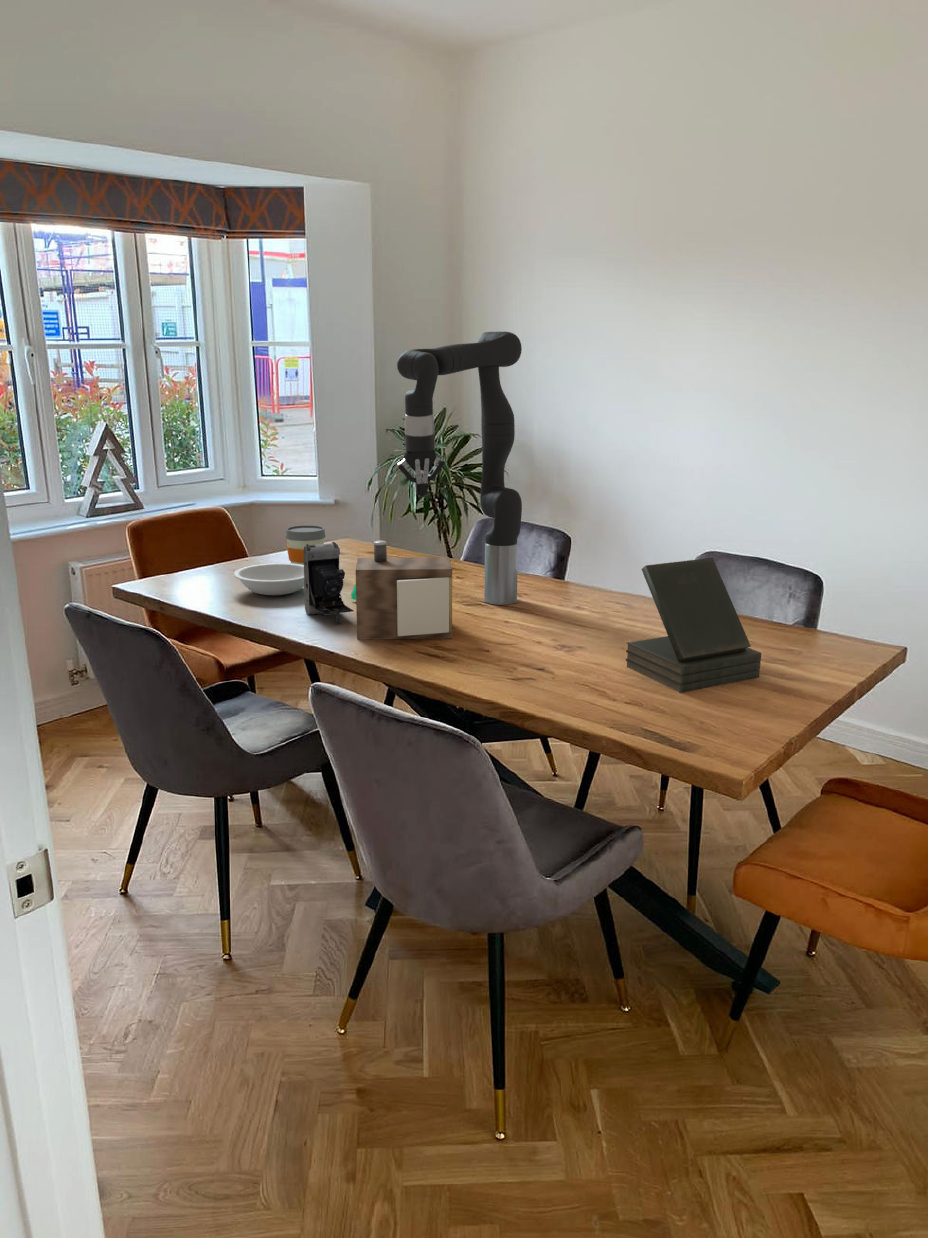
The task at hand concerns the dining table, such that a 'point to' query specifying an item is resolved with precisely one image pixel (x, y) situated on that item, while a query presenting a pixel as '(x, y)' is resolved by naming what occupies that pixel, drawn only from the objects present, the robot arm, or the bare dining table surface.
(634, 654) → the stack of books
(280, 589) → the soup bowl
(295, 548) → the reusable coffee cup
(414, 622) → the side door
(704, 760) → the dining table surface
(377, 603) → the walnut box
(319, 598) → the vintage camera
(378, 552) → the film canister
